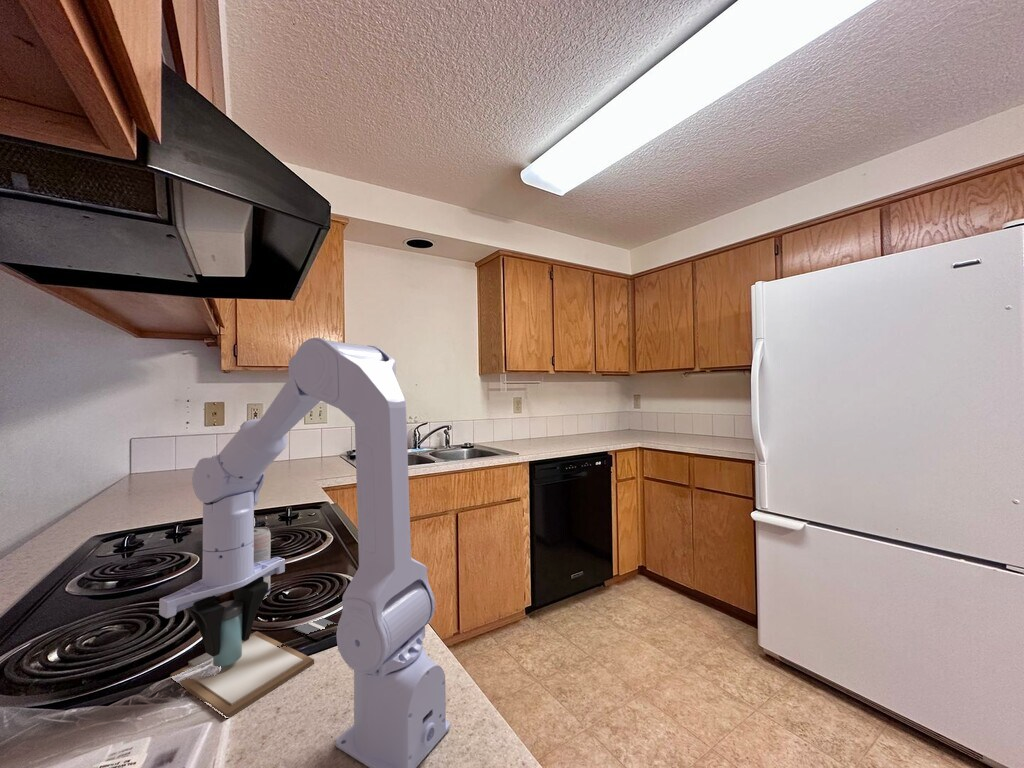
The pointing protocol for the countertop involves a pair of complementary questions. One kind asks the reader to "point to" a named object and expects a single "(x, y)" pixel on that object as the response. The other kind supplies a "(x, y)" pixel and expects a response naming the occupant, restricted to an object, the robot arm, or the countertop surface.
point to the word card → (313, 626)
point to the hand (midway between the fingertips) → (228, 645)
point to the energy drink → (262, 548)
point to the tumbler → (230, 634)
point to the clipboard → (246, 674)
